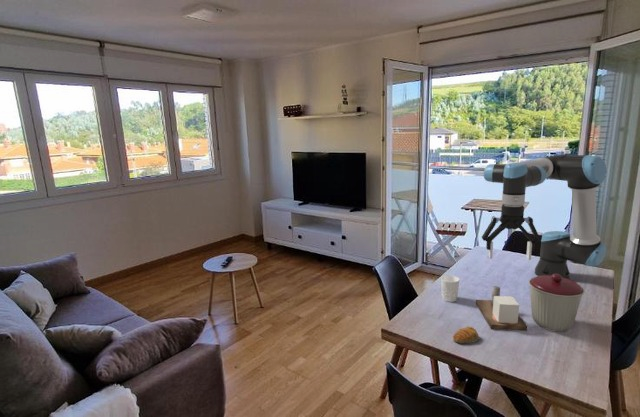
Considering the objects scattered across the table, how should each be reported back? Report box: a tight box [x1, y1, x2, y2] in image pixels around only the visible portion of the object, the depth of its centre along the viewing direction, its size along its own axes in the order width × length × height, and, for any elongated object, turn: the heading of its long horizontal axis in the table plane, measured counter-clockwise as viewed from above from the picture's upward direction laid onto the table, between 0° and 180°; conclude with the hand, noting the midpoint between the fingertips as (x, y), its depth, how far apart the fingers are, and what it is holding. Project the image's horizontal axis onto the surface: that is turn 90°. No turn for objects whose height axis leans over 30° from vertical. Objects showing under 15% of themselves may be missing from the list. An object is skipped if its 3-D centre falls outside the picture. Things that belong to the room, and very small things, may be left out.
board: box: [475, 285, 528, 332], centre depth 147 cm, size 13×21×10 cm, turn 172°
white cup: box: [440, 274, 460, 303], centre depth 164 cm, size 8×8×10 cm
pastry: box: [452, 325, 480, 345], centre depth 133 cm, size 9×7×4 cm
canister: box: [528, 274, 586, 332], centre depth 139 cm, size 18×18×21 cm
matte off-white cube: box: [493, 295, 520, 323], centre depth 142 cm, size 7×7×8 cm
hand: (509, 258), depth 140 cm, fingers open, 13 cm apart
